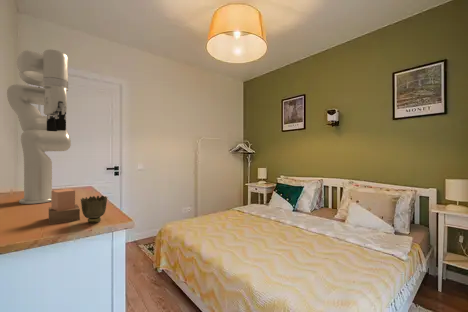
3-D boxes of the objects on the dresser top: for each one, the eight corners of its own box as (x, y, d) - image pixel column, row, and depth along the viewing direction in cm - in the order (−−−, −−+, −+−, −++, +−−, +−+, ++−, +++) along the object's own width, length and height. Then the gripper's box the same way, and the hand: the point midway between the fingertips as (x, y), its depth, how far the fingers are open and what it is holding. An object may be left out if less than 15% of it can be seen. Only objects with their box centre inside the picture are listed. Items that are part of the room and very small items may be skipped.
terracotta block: (51, 208, 78) (51, 190, 78) (68, 205, 82) (68, 188, 82) (57, 211, 75) (57, 192, 75) (75, 208, 79) (75, 190, 79)
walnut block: (48, 219, 80) (48, 207, 79) (77, 215, 85) (76, 204, 85) (49, 225, 73) (49, 212, 73) (79, 220, 78) (79, 208, 78)
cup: (79, 221, 77) (79, 196, 77) (105, 217, 81) (105, 194, 81) (81, 227, 71) (81, 201, 71) (109, 223, 76) (109, 198, 75)
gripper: (36, 86, 91) (37, 130, 91) (51, 78, 80) (51, 129, 81) (60, 90, 97) (60, 132, 97) (76, 83, 86) (76, 130, 87)
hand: (56, 130), depth 89 cm, fingers open, 9 cm apart
